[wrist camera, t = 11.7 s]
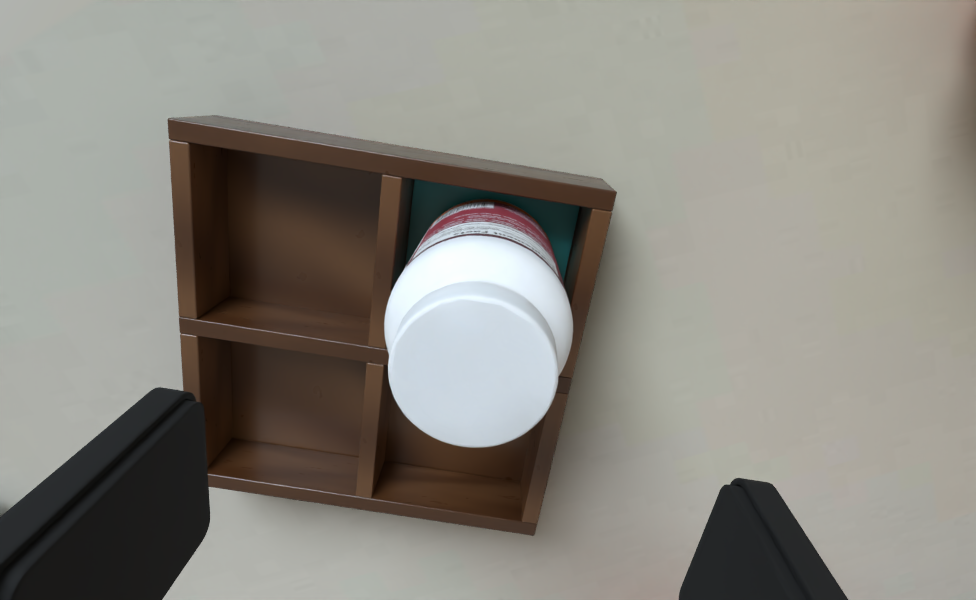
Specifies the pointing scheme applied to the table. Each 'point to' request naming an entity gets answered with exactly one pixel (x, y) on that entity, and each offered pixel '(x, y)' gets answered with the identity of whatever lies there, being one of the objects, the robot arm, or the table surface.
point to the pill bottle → (478, 326)
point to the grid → (347, 314)
